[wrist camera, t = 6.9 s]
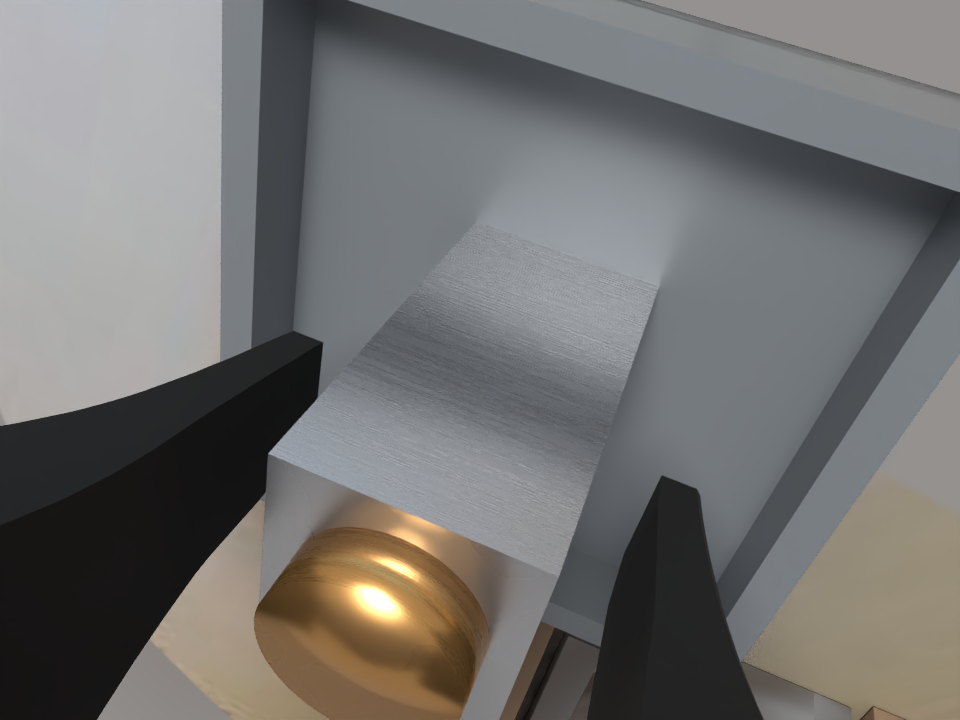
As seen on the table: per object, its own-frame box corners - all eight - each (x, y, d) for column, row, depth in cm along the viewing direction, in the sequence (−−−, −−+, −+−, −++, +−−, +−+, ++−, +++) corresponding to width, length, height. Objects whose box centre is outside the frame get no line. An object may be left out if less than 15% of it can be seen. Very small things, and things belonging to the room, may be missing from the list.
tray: (1047, 119, 13) (1090, 169, 11) (725, 616, 21) (716, 697, 19) (300, -100, 15) (223, -92, 13) (270, 427, 23) (219, 481, 21)
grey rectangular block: (658, 286, 16) (536, 642, 9) (601, 431, 18) (467, 804, 11) (475, 221, 16) (222, 504, 9) (442, 369, 19) (220, 685, 12)
